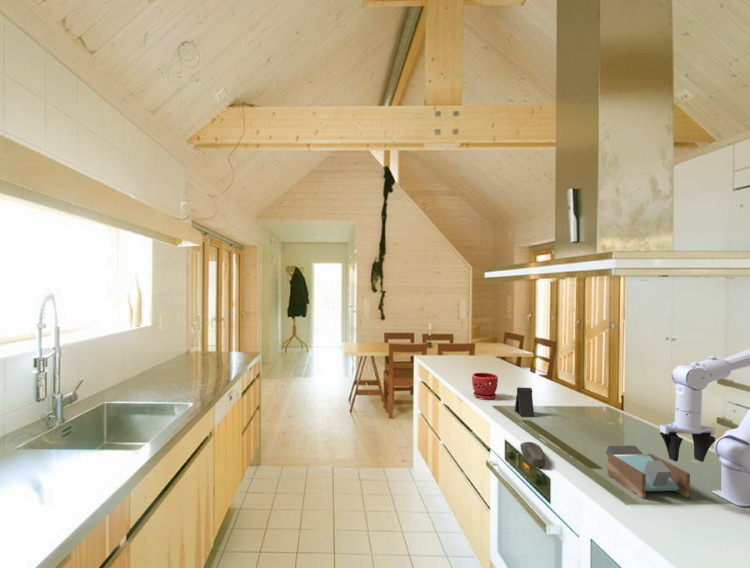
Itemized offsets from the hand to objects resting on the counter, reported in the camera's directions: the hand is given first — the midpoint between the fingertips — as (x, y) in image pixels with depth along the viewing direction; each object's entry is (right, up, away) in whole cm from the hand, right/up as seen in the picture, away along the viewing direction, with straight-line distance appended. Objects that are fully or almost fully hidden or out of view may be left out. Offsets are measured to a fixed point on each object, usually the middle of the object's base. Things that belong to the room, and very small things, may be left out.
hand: (686, 460), depth 112 cm
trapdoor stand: (-6, -10, +7) cm, 14 cm away
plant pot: (-28, -12, +104) cm, 108 cm away
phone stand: (-17, -12, +76) cm, 78 cm away
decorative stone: (-32, -11, +25) cm, 42 cm away
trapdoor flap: (-7, -9, +11) cm, 15 cm away
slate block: (-6, -7, +4) cm, 10 cm away
